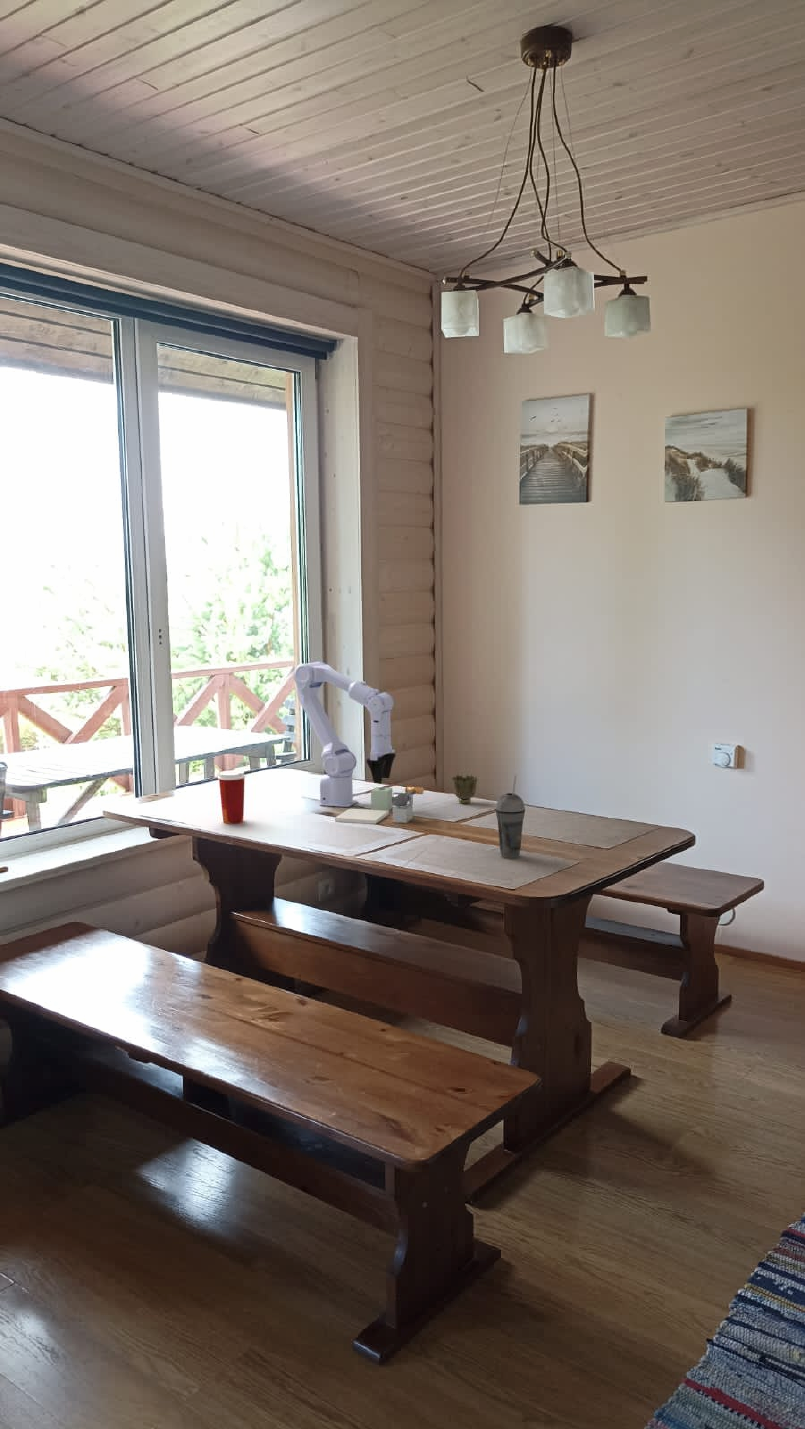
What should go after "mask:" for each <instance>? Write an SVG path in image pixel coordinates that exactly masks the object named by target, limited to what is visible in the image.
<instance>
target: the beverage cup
mask: <svg viewBox="0 0 805 1429" xmlns="http://www.w3.org/2000/svg"><path fill="white" fill-rule="evenodd" d="M516 780H517V775H513V782H512V792H509V793H507V792H506V793H505V794H503V795H501V796H500V797H499V798H498V799H497V801H496V805H495V809H494V810H495V815H496V819H497V828H498V840H499V851H500V857H501V858H502V859H506V860H514V859H515V860H516V859H519V858H520V853H521V850H522V849H521V847H522V837H523V836H522V835H523V824H524V818H525V814H526V813H525V812H526V808H525V804H524V801H523V799H522V798H521V797H520V796H519V795H518V794H516V793H515V791H516V789H515V788H516V783H517V782H516Z"/></svg>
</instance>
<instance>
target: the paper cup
mask: <svg viewBox="0 0 805 1429" xmlns="http://www.w3.org/2000/svg"><path fill="white" fill-rule="evenodd" d="M244 772H245V771H243V770H234V769H233V770H224V771H221V772H219V774H218V776H217V780H218V781H219V795H220V804H221V812H222V822H223V823H224V824H228V825H233V824H235V825H237V824H240V823H243V822H244V815H245V814H244V811H245V779H246V775H245V773H244Z"/></svg>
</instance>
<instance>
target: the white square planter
mask: <svg viewBox="0 0 805 1429" xmlns="http://www.w3.org/2000/svg"><path fill="white" fill-rule="evenodd" d="M413 806H414V794H413V795H411V796H409V801H408V803H407V806H393V808H392V823H399V824H400V823H401V824H402V823H403V824H407V823H409V821H411V820H412V819H414V818H413V813H414V812H413Z"/></svg>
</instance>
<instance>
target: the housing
mask: <svg viewBox="0 0 805 1429" xmlns="http://www.w3.org/2000/svg"><path fill="white" fill-rule="evenodd" d="M392 795H393V787H383V786H382V787H381V786H376V787H374V788H373V789H371V790H370V803H371V804H370V808H371V809H370V810H385V811H389V812H390V810H391V809H393V808H394V806H393V805H392Z"/></svg>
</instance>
